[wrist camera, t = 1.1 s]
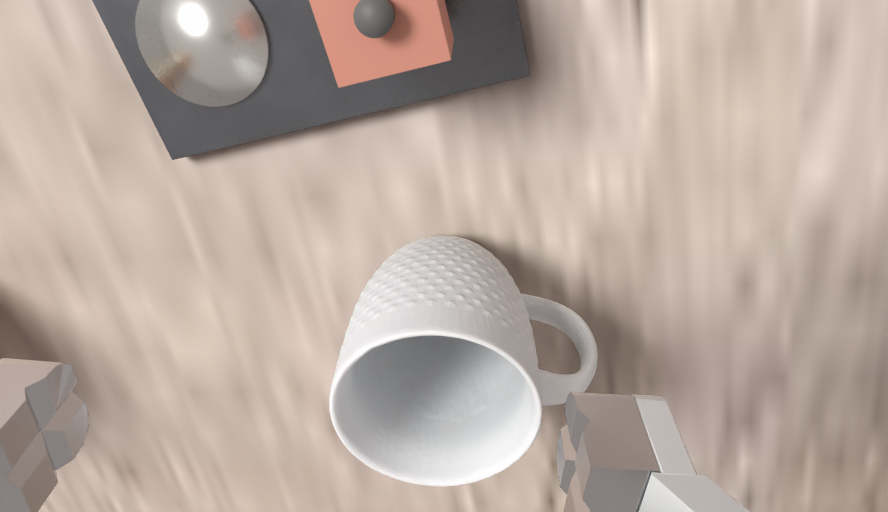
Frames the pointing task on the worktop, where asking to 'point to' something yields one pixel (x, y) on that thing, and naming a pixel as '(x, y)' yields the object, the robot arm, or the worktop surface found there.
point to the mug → (448, 366)
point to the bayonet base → (283, 66)
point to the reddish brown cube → (382, 36)
